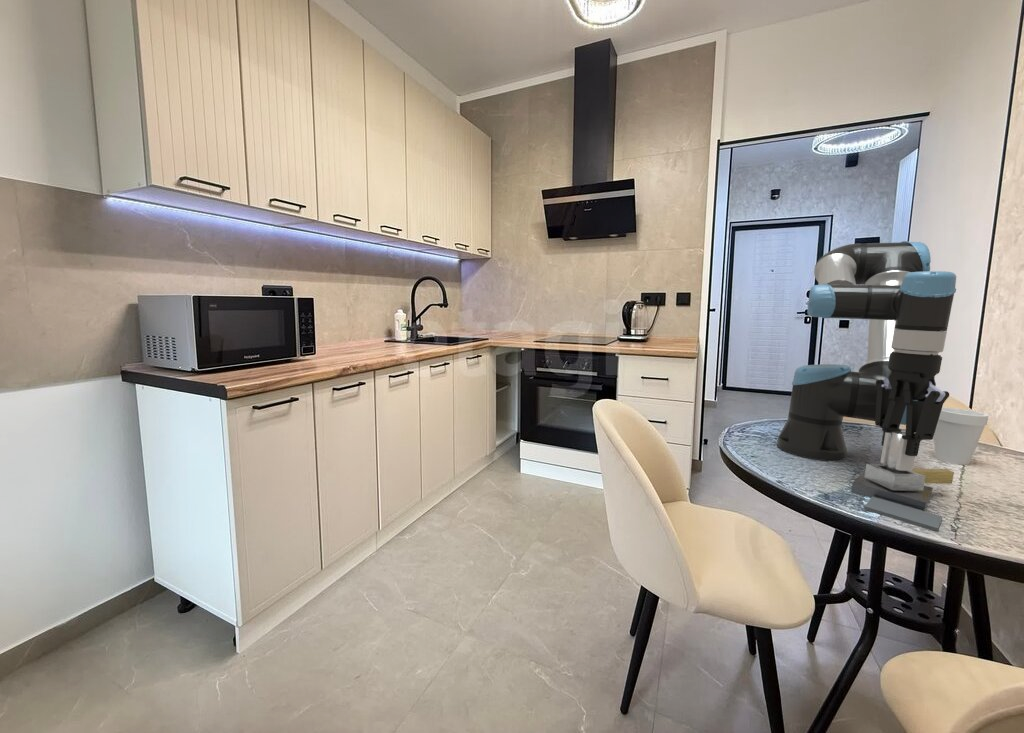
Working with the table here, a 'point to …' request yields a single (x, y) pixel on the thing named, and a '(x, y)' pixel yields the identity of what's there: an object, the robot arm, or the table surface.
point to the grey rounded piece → (958, 434)
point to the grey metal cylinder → (894, 452)
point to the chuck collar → (907, 477)
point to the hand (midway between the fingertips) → (895, 466)
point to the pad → (904, 513)
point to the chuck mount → (892, 493)
